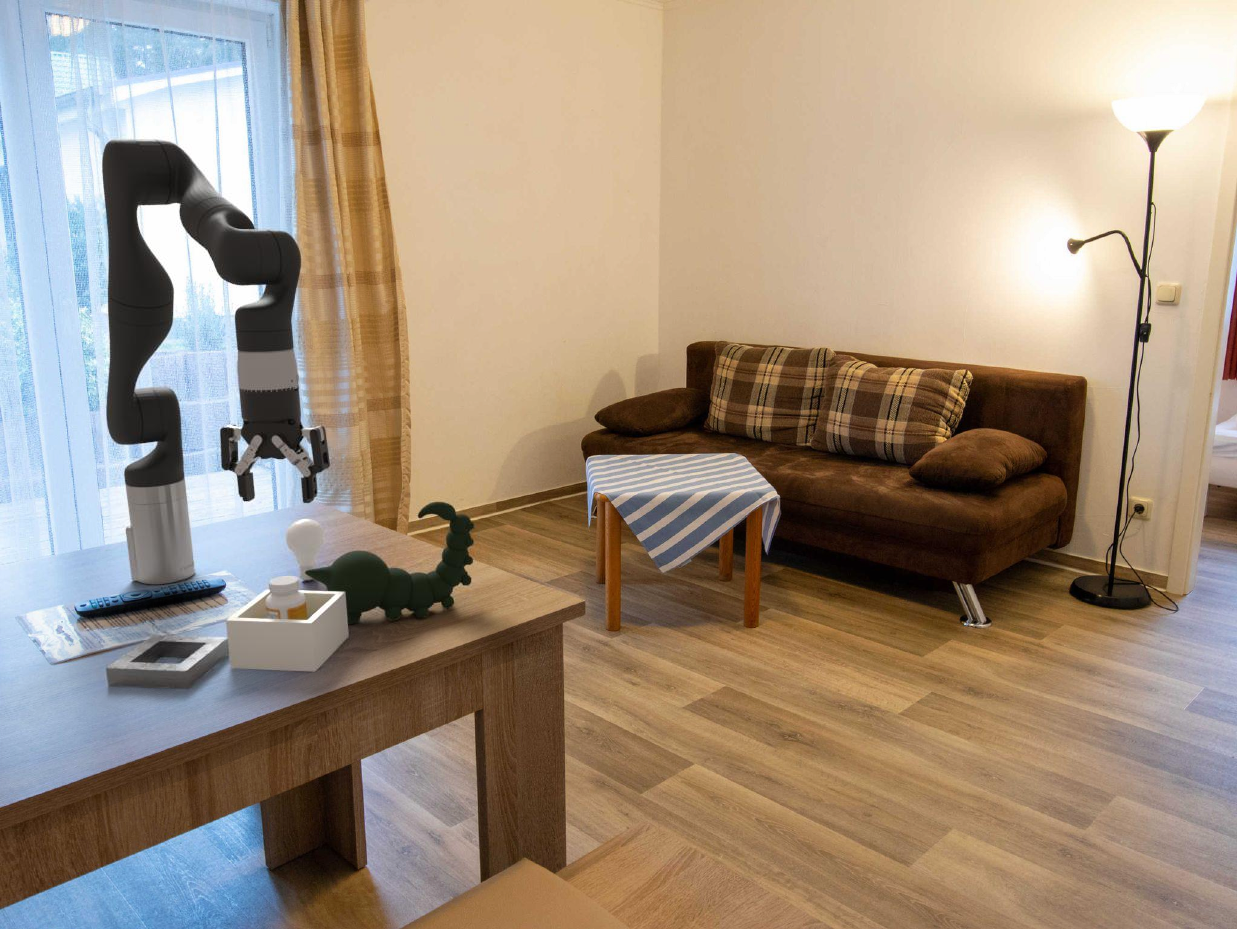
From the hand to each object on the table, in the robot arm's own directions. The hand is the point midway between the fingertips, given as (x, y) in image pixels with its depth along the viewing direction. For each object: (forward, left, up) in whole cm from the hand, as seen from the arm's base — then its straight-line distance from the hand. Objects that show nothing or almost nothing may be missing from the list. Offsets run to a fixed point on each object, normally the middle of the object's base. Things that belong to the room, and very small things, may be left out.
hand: (279, 501), depth 130 cm
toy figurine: (+10, +14, -23) cm, 29 cm away
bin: (0, 0, -22) cm, 22 cm away
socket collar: (-14, -7, -22) cm, 27 cm away
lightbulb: (-10, +29, -22) cm, 38 cm away
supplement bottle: (0, 0, -21) cm, 21 cm away
